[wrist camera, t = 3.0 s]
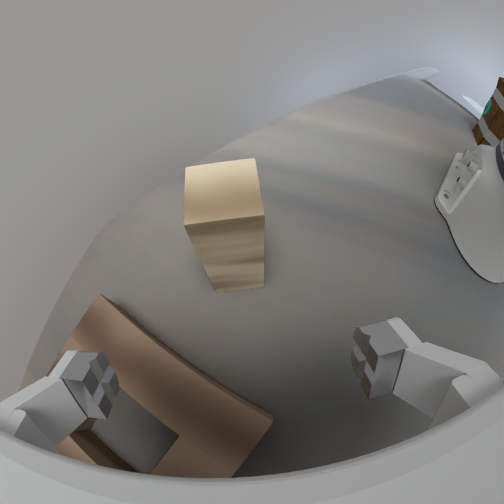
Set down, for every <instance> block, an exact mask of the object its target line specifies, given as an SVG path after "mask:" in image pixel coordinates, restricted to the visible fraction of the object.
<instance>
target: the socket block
mask: <svg viewBox="0 0 504 504" xmlns="http://www.w3.org/2000/svg"><path fill="white" fill-rule="evenodd" d="M68 350H79V351H80V350H83V351H100V352H104V353H106V355H107V357H108V359H109V360H110V363H109V367H110V368H112V369H113V370H114V371H115V373H116V375H117V377H118V381H119V386H120V387H121V388H122V389H123V390H124V391H125V392H126V393H127V394H128V395H129V396H131V397H132V398H133V399H134V400H135V401H136V402H137V403H139V404H140V405H141V406H142V407H143V408H145V409H146V410H147V411H148V412H149V413H151V414H152V415H153V416H154V417H156V418H157V419H158V420H159V421H161V422H162V423H163V424H165V425H166V426H167V427H169V428H170V429H171V430H173V431H174V432H175V433H177V434H178V435H180V436H179V437H178V438H177V440H176V441H175V442H174V444H173V445H172V446H171V448H170V449H169V450H168V452H167V453H166V454H165V455H164V457H163V458H162V459H161V461H160V462H159V463H158V465H157V466H156V467H155V468H154V470H153V471H152V472H151V473H150V475H159V476H170V477H185V478H231V477H232V476H233V474H234V473H235V472H236V471H237V470H238V468H239V467H240V466H241V465H242V463H243V462H244V461H245V459H246V458H247V457H248V456H249V454H250V453H251V452H252V450H253V449H254V448H255V446H256V445H257V444H258V442H259V441H260V440H261V438H262V437H263V436H264V434H265V433H266V431H267V430H268V429H269V427H270V426H271V424H272V423H273V422H274V421H273V417H272V415H271V414H270V413H268V412H266V411H264V410H263V409H261V408H259V407H257V406H256V405H254V404H252V403H251V402H249V401H247V400H246V399H244V398H242V397H241V396H239V395H237V394H236V393H234V392H233V391H231V390H229V389H228V388H226V387H225V386H223V385H222V384H220V383H219V382H217V381H216V380H214V379H213V378H211V377H210V376H208V375H207V374H205V373H204V372H202V371H201V370H199V369H198V368H197V367H195V366H194V365H192V364H191V363H189V362H188V361H187V360H185V359H184V358H183V357H181V356H180V355H179V354H177V353H176V352H175V351H173V350H172V349H171V348H169V347H168V346H167V345H165V344H164V343H163V342H162V341H160V340H159V339H158V338H156V337H155V336H154V335H153V334H151V333H150V332H149V331H148V330H147V329H145V328H144V327H143V326H142V325H141V324H139V323H138V322H137V321H136V320H135V319H133V318H132V317H131V316H130V315H129V314H128V313H126V312H125V311H124V310H123V309H122V308H121V307H120V306H118V305H117V304H115V303H114V302H112V301H111V300H109V299H107V298H106V297H104V296H103V295H101V294H100V293H99V294H98V296H97V297H96V299H95V300H94V301H93V303H92V304H91V306H90V307H89V309H88V310H87V312H86V313H85V315H84V316H83V317H82V319H81V320H80V322H79V323H78V325H77V327H76V328H75V330H74V331H73V333H72V334H71V336H70V337H69V339H68V341H67V342H66V344H65V345H64V347H63V349H62V350H61V352H60V353H59V355H58V357H57V358H56V360H55V362H54V364H53V365H52V367H51V369H50V370H49V372H48V374H47V376H46V377H48V376H49V375H50V373H51V372H52V371H53V369H54V368H55V366H56V365H57V363H58V362H59V361H60V359H61V358H62V357H63V355H64V354H65V353H66V351H68ZM95 420H96V418H91V417H87V419H86V420H85V421H84V422H83V423H82V424H80V425H79V426H78V427H77V428H76V429H75V430H74V431H73V432H72V433H71V434H70V435H69V436H68V437H66V438H65V439H64V440H63V441H62V442H61V443H60V444H59V445H58V446H57V447H56V448H57V449H58V450H59V451H60V452H61V453H62V454H63V456H66V457H69V458H72V459H76V460H79V461H83V462H87V463H91V464H95V465H99V466H103V467H108V468H113V469H118V470H123V471H129V472H135V473H137V472H136V471H135V470H134V469H132V468H131V467H130V466H129V465H127V464H126V463H125V462H124V461H123V460H121V459H120V458H119V457H118V456H117V455H116V454H115V453H114V452H112V451H111V450H110V449H109V448H108V447H107V446H106V445H105V444H104V443H103V442H102V441H101V440H100V439H99V438H98V437H97V436H95V435H94V434H93V433H92V431H91V430H90V428H91V426H92V425H93V423H94V422H95Z"/></svg>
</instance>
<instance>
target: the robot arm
mask: <svg viewBox="0 0 504 504" xmlns="http://www.w3.org/2000/svg"><path fill="white" fill-rule="evenodd" d="M435 204H436V206H437V208H438V209H439V211H440V212H441V213H442V215H443V216H444V218H445V219H446V220H447V222H448V225H449V227H450V230H451V233H452V235H453V238H454V240H455V243H456V245H457V247H458V248H459V250H460V252H461V254H462V255H463V257H464V258H465V260H466V261H467V262H468V264H469V265H470V266H471V267H472V268H473V269H474V270H475V271H476V272H477V273H478V274H479V275H480V276H482V277H483V278H485V279H486V280H488V281H491V282H494V283H502V282H504V138H503V139H502V141H501V142H500V143H499V144H498V145H497V147H496V146H489V145H483V144H481V145H478V146H477V148H476V149H475V150H474V152H473V153H472V152H471V151H469V150H466V151H465V152H464V154H463V153H457V154H456V155H455V156H454V158H453V160H452V163H451V165H450V167H449V170H448V172H447V174H446V176H445V179H444V181H443V183H442V185H441V187H440V189H439V191H438V193H437V196H436V198H435ZM353 339H354V340H355V342H356V345H355V346H354V347H353V349H352V355H351V358H352V366H353V369H354V372H355V374H356V376H358V377H360V378H362V384H361V385H362V387H363V389H364V391H365V393H366V395H367V397H368V399H371V398H375V397H379V396H382V395H386V394H389V393H392V392H393V393H392V394H394V395H395V396H397V397H399V398H400V399H402V400H403V401H405V402H407V403H408V404H410V405H412V406H413V407H415V408H417V409H418V410H420V411H421V412H423V413H425V414H426V415H428V416H430V417H431V418H433V420H432V422H431V424H430V426H429V428H428V429H427V431H425V432H423V433H421V434H419V435H416V436H414V437H412V438H409V439H407V440H404V441H402V442H399V443H397V444H394V445H392V446H389V447H386V448H383V449H381V450H378V451H375V452H372V453H369V454H365V455H362V456H359V457H355V458H352V459H348V460H345V461H341V462H337V463H333V464H329V465H324V466H320V467H315V468H310V469H305V470H299V471H293V472H287V473H280V474H272V475H262V476H251V477H235V478H185V477H170V476H159V475H150V474H142V473H135V472H129V471H123V470H118V469H113V468H108V467H103V466H99V465H95V464H91V463H87V462H83V461H79V460H76V459H72V458H69V457H66V456H63V454H62V453H61V452H60V451H59V450H58V449H57V448H56V447H57V446H58V445H59V444H60V443H61V442H62V441H63V440H64V439H65V438H66V437H68V436H69V435H70V434H71V433H72V432H73V431H74V430H75V429H76V428H77V427H78V426H79V425H80V424H82V423H83V422H84V421H85V420H86V419H87V417H91V418H99V419H107V418H108V415H109V413H110V411H111V408H112V403H111V400H112V399H114V398H115V397H116V396H117V393H118V391H119V381H118V377H117V375H116V373H115V371H114V370H113V369H112V368H110V367H109V363H110V360H109V359H108V357H107V355H106V353H104V352H100V351H83V350H80V351H79V350H68V351H66V353H65V354H64V355H63V357H62V358H61V359H60V361H59V362H58V363H57V365H56V366H55V368H54V369H53V371H52V372H51V373H50V375H49V376H48V377H46V376H45V377H43V378H42V379H40V380H38V381H36V382H35V383H33V384H31V385H30V386H28V387H26V388H24V389H23V390H21V391H19V392H18V393H16V394H14V395H12V396H11V397H9V398H7V399H6V400H4V401H2V402H1V403H0V504H504V381H503V380H502V379H501V378H500V377H499V376H498V375H497V374H496V373H495V371H494V370H493V369H492V368H491V367H490V366H489V365H488V364H487V363H486V362H485V361H481V360H478V359H475V358H472V357H469V356H466V355H463V354H460V353H457V352H454V351H451V350H448V349H445V348H443V347H440V346H437V345H434V344H431V343H428V342H425V343H422V342H421V341H420V339H419V338H418V337H417V336H416V335H415V334H414V333H413V332H412V331H411V330H410V328H409V327H408V326H407V325H406V324H405V323H404V322H403V321H402V320H401V319H400V318H398V317H395V318H391V319H387V320H384V321H382V322H378V323H374V324H369V325H365V326H360V327H356V328H355V331H354V336H353Z"/></svg>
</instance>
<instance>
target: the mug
mask: <svg viewBox="0 0 504 504" xmlns="http://www.w3.org/2000/svg"><path fill="white" fill-rule="evenodd" d="M472 131H473V134H474V136H475V139H476V142H477V145H481V144H483V145H489V146H496V147H497V145H498V144H499V143H500V142H501V141H502V139H503V138H504V78H501V77H499V80H498V83H497V87H496V89H495V91H494V94H493V95H492V97H491V98H490V100H489V101H488V103H487V104H486V107H485V109H484V112H483V114H482V117H481V118H480V120H479V122H478V124H477V125H476V126H475V128H474V129H473V130H472Z"/></svg>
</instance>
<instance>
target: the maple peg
mask: <svg viewBox="0 0 504 504" xmlns="http://www.w3.org/2000/svg"><path fill="white" fill-rule="evenodd" d="M184 227H185V229H186V231H187V233H188V235H189V237H190V240H191V242H192V244H193V246H194V248H195V250H196V252H197V254H198V256H199V259H200V261H201V263H202V265H203V267H204V269H205V271H206V273H207V275H208V277H209V279H210V281H211V283H212V285H213V287H214V289H215V291H216V293H219V292H228V291H237V290H246V289H254V288H263V287H264V209H263V203H262V197H261V191H260V186H259V180H258V174H257V168H256V163H255V158H252V159H243V160H234V161H226V162H218V163H211V164H204V165H197V166H191V167H186V173H185V196H184Z"/></svg>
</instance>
